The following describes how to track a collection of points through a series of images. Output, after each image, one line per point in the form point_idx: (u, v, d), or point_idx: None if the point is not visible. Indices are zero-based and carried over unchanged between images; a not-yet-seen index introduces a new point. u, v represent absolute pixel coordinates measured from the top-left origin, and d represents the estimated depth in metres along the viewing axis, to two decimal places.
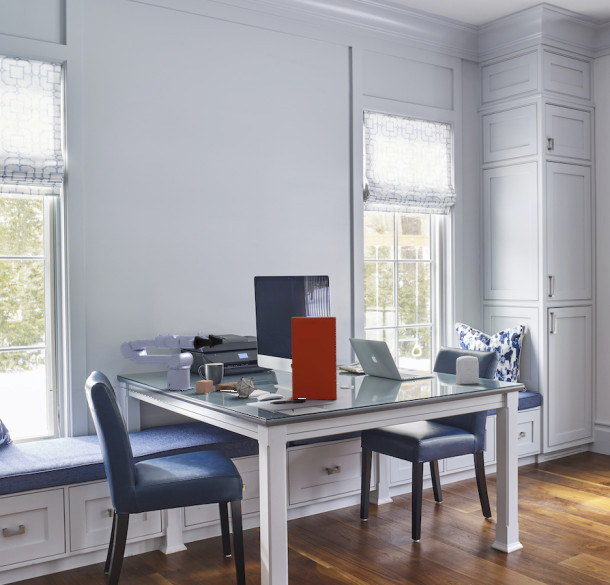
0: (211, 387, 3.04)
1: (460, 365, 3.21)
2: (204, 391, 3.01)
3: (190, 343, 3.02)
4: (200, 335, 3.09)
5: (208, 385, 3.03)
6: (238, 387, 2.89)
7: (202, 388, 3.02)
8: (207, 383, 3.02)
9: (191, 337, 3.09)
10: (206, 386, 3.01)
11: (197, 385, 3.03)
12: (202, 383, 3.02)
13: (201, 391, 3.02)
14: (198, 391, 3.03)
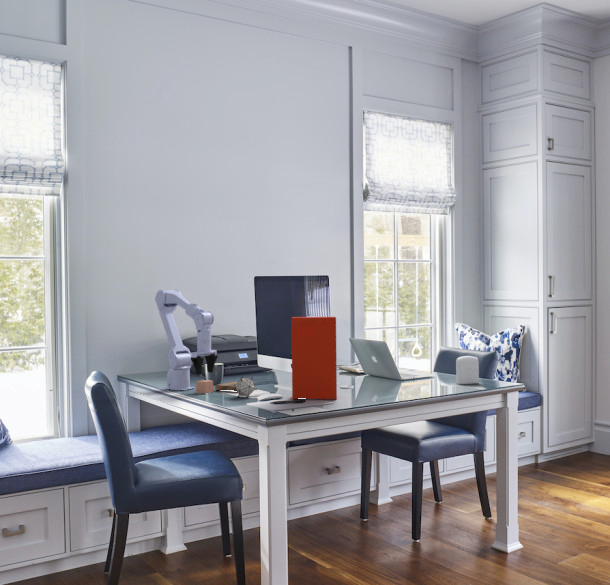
0: (211, 387, 3.04)
1: (460, 365, 3.21)
2: (204, 391, 3.01)
3: (192, 355, 2.98)
4: None
5: (208, 385, 3.03)
6: (238, 387, 2.89)
7: (202, 388, 3.02)
8: (207, 383, 3.02)
9: (204, 345, 3.01)
10: (206, 386, 3.01)
11: (197, 385, 3.03)
12: (202, 383, 3.02)
13: (201, 391, 3.02)
14: (198, 391, 3.03)
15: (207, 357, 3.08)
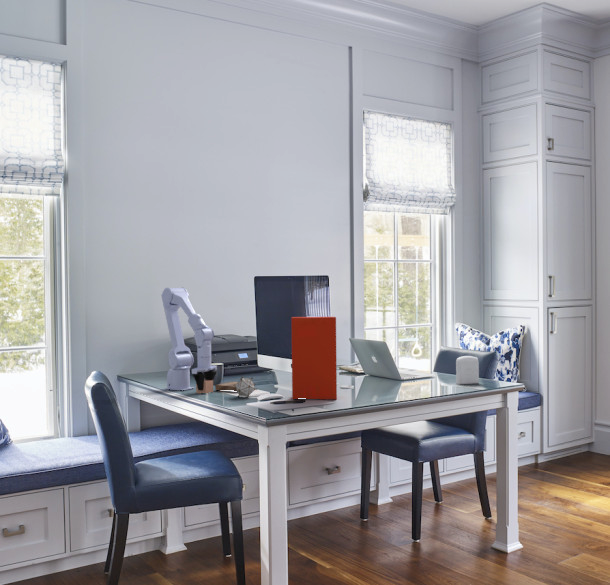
0: (211, 387, 3.04)
1: (460, 365, 3.21)
2: (204, 391, 3.01)
3: (193, 371, 2.98)
4: None
5: (208, 384, 3.03)
6: (238, 387, 2.89)
7: None
8: (207, 383, 3.02)
9: (205, 361, 3.01)
10: (206, 385, 3.01)
11: None
12: None
13: (201, 391, 3.02)
14: (198, 391, 3.03)
15: (206, 373, 3.07)
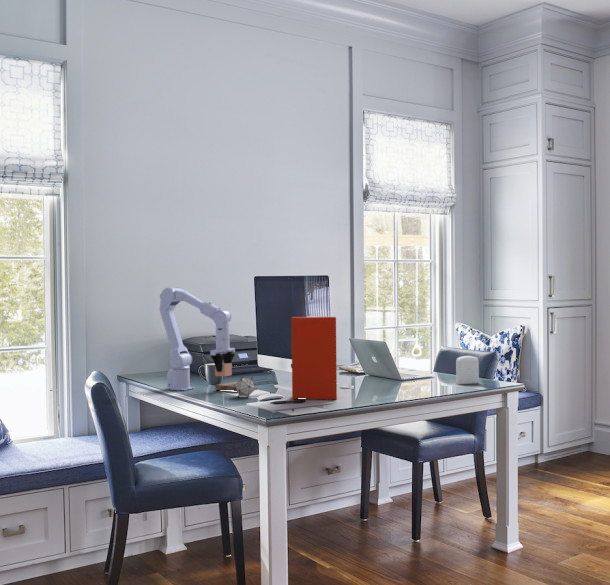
0: (230, 370, 3.08)
1: (460, 365, 3.21)
2: (223, 373, 3.05)
3: (211, 353, 3.02)
4: (227, 351, 3.07)
5: (227, 367, 3.06)
6: (238, 387, 2.89)
7: None
8: (226, 366, 3.06)
9: (223, 343, 3.05)
10: (225, 368, 3.05)
11: None
12: None
13: (220, 373, 3.06)
14: (217, 373, 3.07)
15: (224, 355, 3.11)
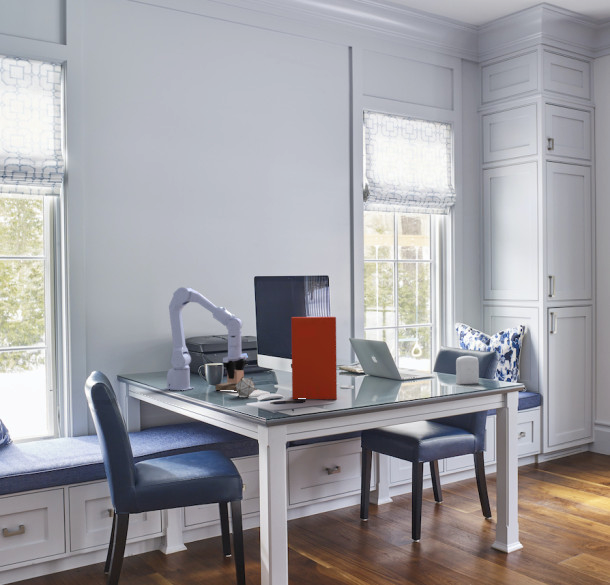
0: None
1: (460, 365, 3.21)
2: (236, 380, 3.08)
3: (224, 360, 3.05)
4: (239, 358, 3.10)
5: (239, 374, 3.09)
6: (238, 387, 2.89)
7: (234, 377, 3.08)
8: (238, 373, 3.09)
9: (235, 350, 3.08)
10: (237, 375, 3.08)
11: None
12: None
13: (232, 380, 3.09)
14: (229, 380, 3.09)
15: (236, 362, 3.14)
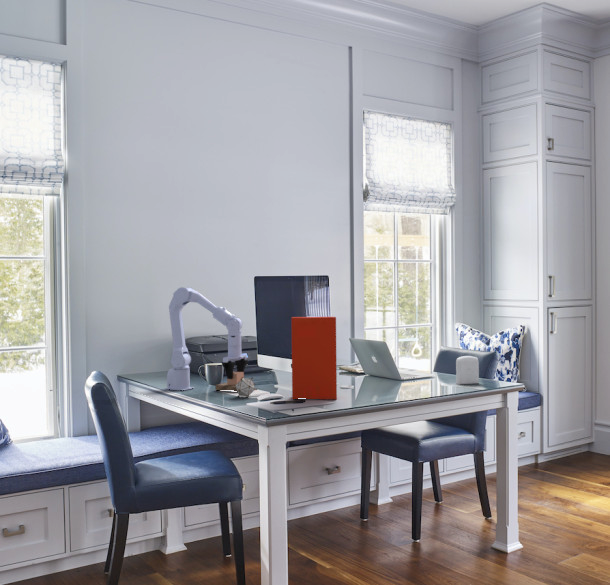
0: None
1: (460, 365, 3.21)
2: (235, 382, 3.08)
3: (224, 360, 3.05)
4: (239, 358, 3.10)
5: (239, 376, 3.09)
6: (238, 387, 2.89)
7: (233, 379, 3.08)
8: (238, 374, 3.09)
9: (235, 350, 3.08)
10: (237, 377, 3.08)
11: None
12: (233, 374, 3.08)
13: (232, 382, 3.09)
14: (229, 382, 3.10)
15: (237, 362, 3.15)
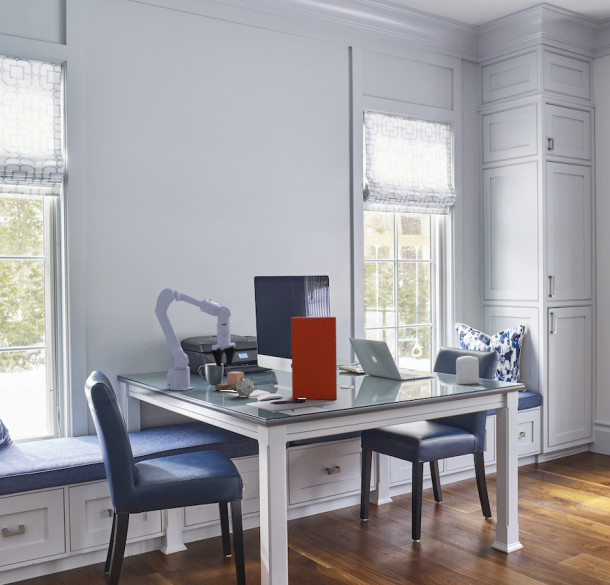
0: None
1: (460, 365, 3.21)
2: (235, 382, 3.08)
3: (213, 348, 3.11)
4: (228, 346, 3.16)
5: (239, 376, 3.09)
6: (238, 387, 2.89)
7: (233, 379, 3.08)
8: (238, 374, 3.09)
9: (224, 338, 3.15)
10: (237, 377, 3.08)
11: (228, 376, 3.10)
12: (233, 374, 3.08)
13: (232, 382, 3.09)
14: (229, 382, 3.10)
15: (226, 350, 3.21)
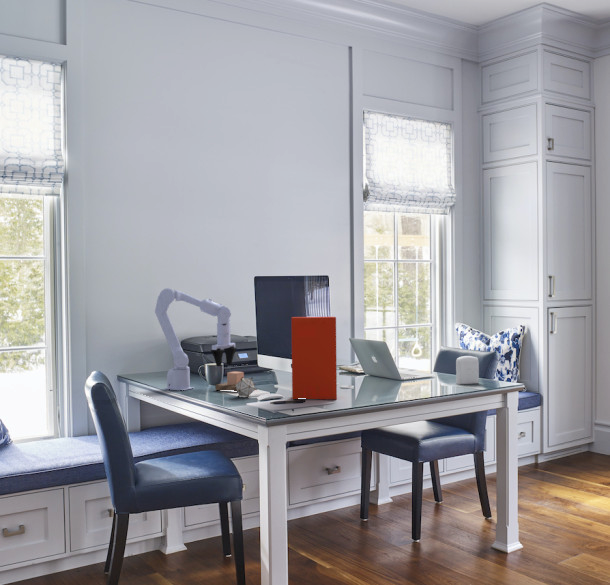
0: None
1: (460, 365, 3.21)
2: (235, 382, 3.08)
3: (213, 348, 3.11)
4: (228, 346, 3.16)
5: (239, 376, 3.09)
6: (238, 387, 2.89)
7: (233, 379, 3.08)
8: (238, 374, 3.09)
9: (224, 338, 3.15)
10: (237, 377, 3.08)
11: (228, 376, 3.10)
12: (233, 374, 3.08)
13: (232, 382, 3.09)
14: (229, 382, 3.10)
15: (226, 350, 3.21)
